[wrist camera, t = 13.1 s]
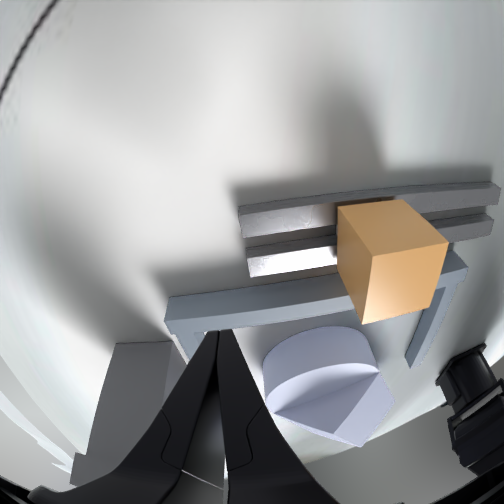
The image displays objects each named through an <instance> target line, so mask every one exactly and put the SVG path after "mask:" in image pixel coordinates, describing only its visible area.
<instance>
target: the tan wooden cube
mask: <svg viewBox="0 0 504 504" xmlns="http://www.w3.org/2000/svg"><path fill="white" fill-rule="evenodd" d="M336 234H337V236H338V238H337V270H338V272H339V274H340V276H341V279H342V281H343V283H344V285H345V287H346V289H347V292H348V294H349V296H350V298H351V301H352V303H353V305H354V307H355V310H356V312H357V314H358V317H359V319H360V321H361V324H362V325H363V324H367V323H372V322H376V321H380V320H384V319H388V318H392V317H396V316H400V315H403V314H407V313H411V312H414V311H418V310H421V309H425V308H428V307H429V306H430V303H431V300H432V298H433V295H434V292H435V289H436V286H437V283H438V280H439V276H440V273H441V270H442V266H443V263H444V259H445V256H446V252H447V248H448V244H449V242H448V241H447V240H446V239H445V238H444V237H443V236H442V235H441V234H440V233H439V232H438V231H437V230H436V229H435V228H434V227H433V226H432V225H431V224H430V223H429V222H428V221H426V220H425V219H424V218H423V217H422V216H421V215H420V214H419V213H418V212H417V211H415V210H414V209H413V208H412V207H411V206H410V205H409V204H407V203H406V202H405V201H404V200H403V199H400V200H390V201H381V202H372V203H364V204H355V205H347V206H339V207H338V224H336Z"/></svg>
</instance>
